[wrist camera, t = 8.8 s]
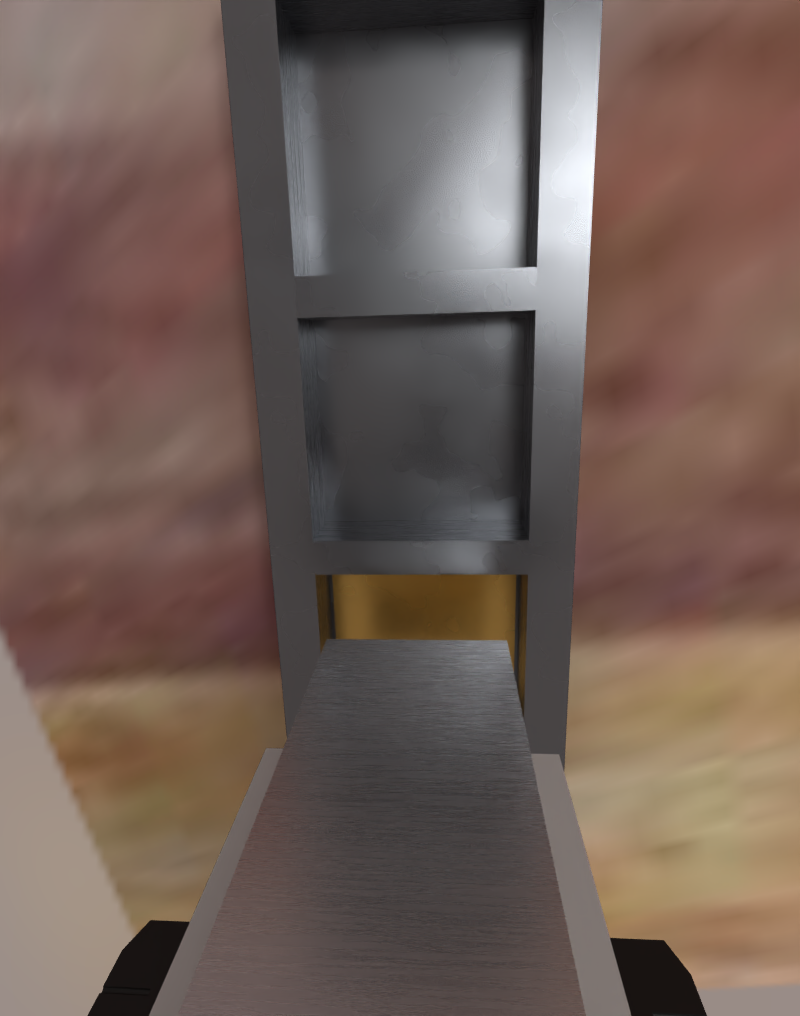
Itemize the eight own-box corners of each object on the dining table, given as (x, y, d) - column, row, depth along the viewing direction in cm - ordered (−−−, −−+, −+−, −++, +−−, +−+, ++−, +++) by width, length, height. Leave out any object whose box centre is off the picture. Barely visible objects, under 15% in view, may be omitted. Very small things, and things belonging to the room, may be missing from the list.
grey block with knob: (326, 639, 15) (124, 1149, 6) (506, 640, 15) (622, 1185, 5) (336, 789, 17) (184, 1425, 7) (504, 793, 16) (593, 1469, 6)
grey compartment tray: (246, 3, 16) (210, -57, 14) (581, -22, 15) (607, -90, 13) (304, 732, 22) (287, 781, 19) (549, 737, 21) (563, 788, 19)
